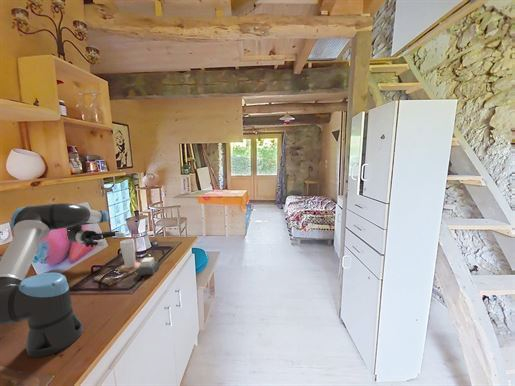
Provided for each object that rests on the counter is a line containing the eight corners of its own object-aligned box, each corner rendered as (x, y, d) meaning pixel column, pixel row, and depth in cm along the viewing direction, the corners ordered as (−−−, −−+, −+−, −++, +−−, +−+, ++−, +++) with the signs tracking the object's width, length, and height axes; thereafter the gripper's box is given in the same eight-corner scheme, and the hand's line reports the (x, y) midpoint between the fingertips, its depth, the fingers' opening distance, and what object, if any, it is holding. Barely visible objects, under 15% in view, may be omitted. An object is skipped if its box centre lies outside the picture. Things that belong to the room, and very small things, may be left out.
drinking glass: (127, 270, 130) (123, 244, 128) (121, 267, 134) (117, 241, 132) (139, 265, 136) (136, 240, 133) (133, 262, 140) (130, 238, 137)
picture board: (109, 285, 118) (108, 283, 118) (94, 280, 125) (94, 277, 124) (148, 266, 137) (147, 264, 137) (133, 262, 144) (133, 260, 143)
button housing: (153, 274, 127) (152, 267, 126) (138, 275, 127) (137, 268, 126) (159, 267, 135) (158, 260, 134) (144, 268, 135) (143, 261, 134)
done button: (151, 269, 128) (150, 261, 127) (141, 269, 128) (140, 261, 127) (154, 264, 133) (153, 257, 132) (145, 265, 133) (144, 257, 132)
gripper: (107, 235, 155) (132, 238, 148) (65, 251, 132) (93, 254, 125) (105, 224, 154) (130, 226, 147) (63, 238, 131) (91, 240, 124)
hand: (113, 239), depth 136 cm, fingers open, 13 cm apart
